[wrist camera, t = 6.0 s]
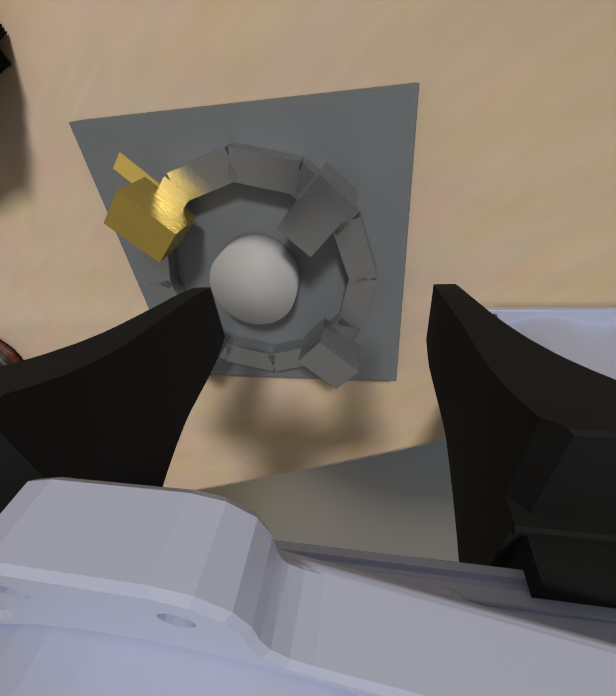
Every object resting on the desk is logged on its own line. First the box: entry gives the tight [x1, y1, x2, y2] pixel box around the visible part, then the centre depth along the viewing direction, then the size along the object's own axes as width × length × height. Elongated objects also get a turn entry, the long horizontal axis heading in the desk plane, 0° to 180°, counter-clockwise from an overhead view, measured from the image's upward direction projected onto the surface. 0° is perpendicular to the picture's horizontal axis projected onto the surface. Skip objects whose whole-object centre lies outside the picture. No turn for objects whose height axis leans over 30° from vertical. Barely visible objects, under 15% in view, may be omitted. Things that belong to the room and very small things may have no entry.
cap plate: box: [69, 83, 419, 381], centre depth 21 cm, size 17×17×3 cm
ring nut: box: [104, 143, 377, 388], centre depth 20 cm, size 15×15×4 cm
